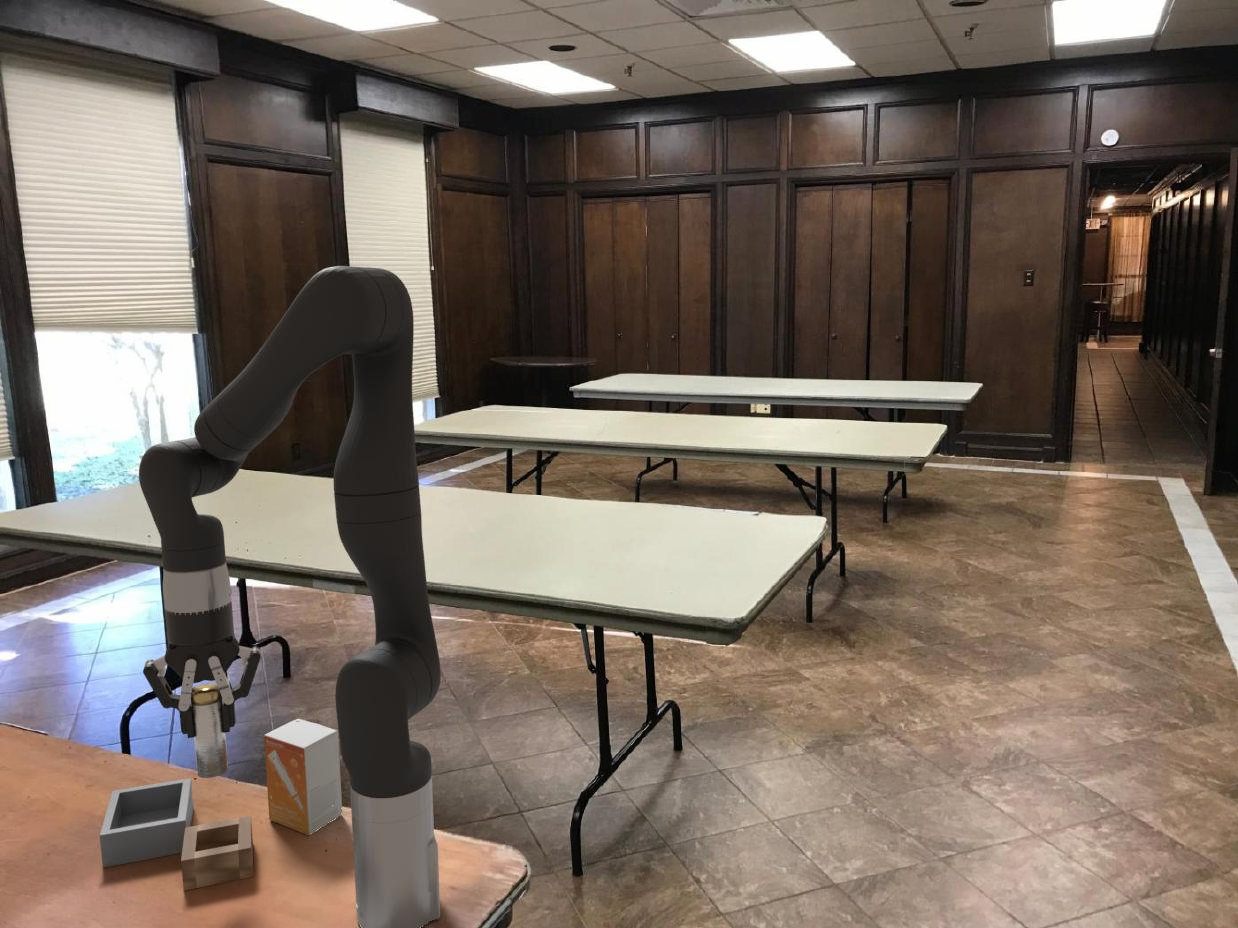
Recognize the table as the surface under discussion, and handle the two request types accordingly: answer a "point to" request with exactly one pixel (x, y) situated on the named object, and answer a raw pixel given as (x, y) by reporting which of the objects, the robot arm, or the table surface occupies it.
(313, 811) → the small box
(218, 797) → the table surface
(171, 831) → the tray
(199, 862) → the collar
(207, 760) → the gold lid glass jar
